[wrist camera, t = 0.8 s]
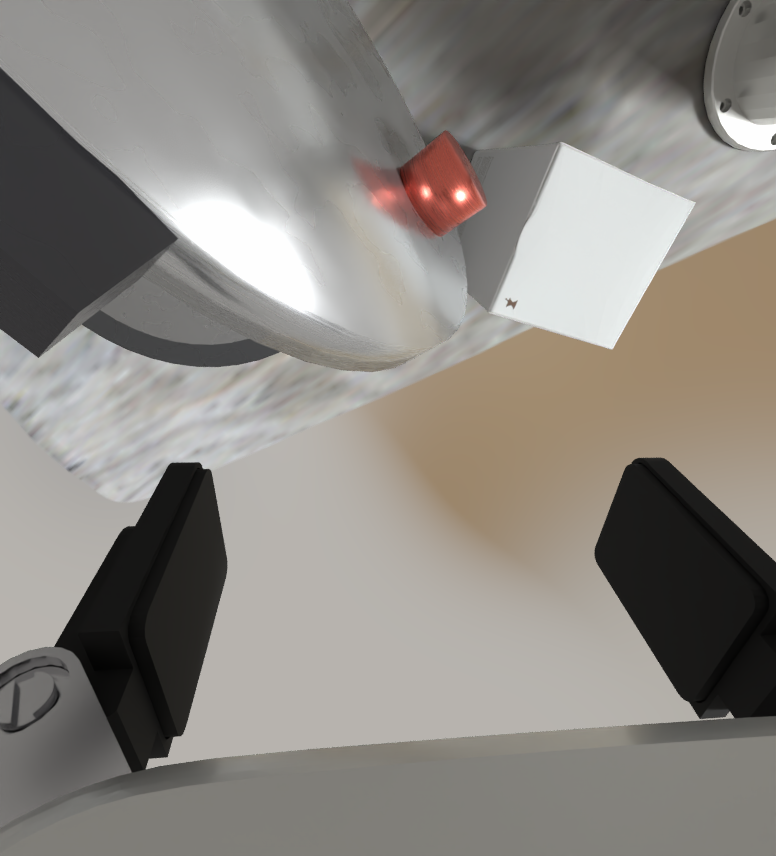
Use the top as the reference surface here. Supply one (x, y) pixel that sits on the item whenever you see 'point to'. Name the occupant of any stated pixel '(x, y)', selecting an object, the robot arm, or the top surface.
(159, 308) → the pressure cooker
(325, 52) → the lid
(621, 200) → the supplement box
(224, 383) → the top surface
